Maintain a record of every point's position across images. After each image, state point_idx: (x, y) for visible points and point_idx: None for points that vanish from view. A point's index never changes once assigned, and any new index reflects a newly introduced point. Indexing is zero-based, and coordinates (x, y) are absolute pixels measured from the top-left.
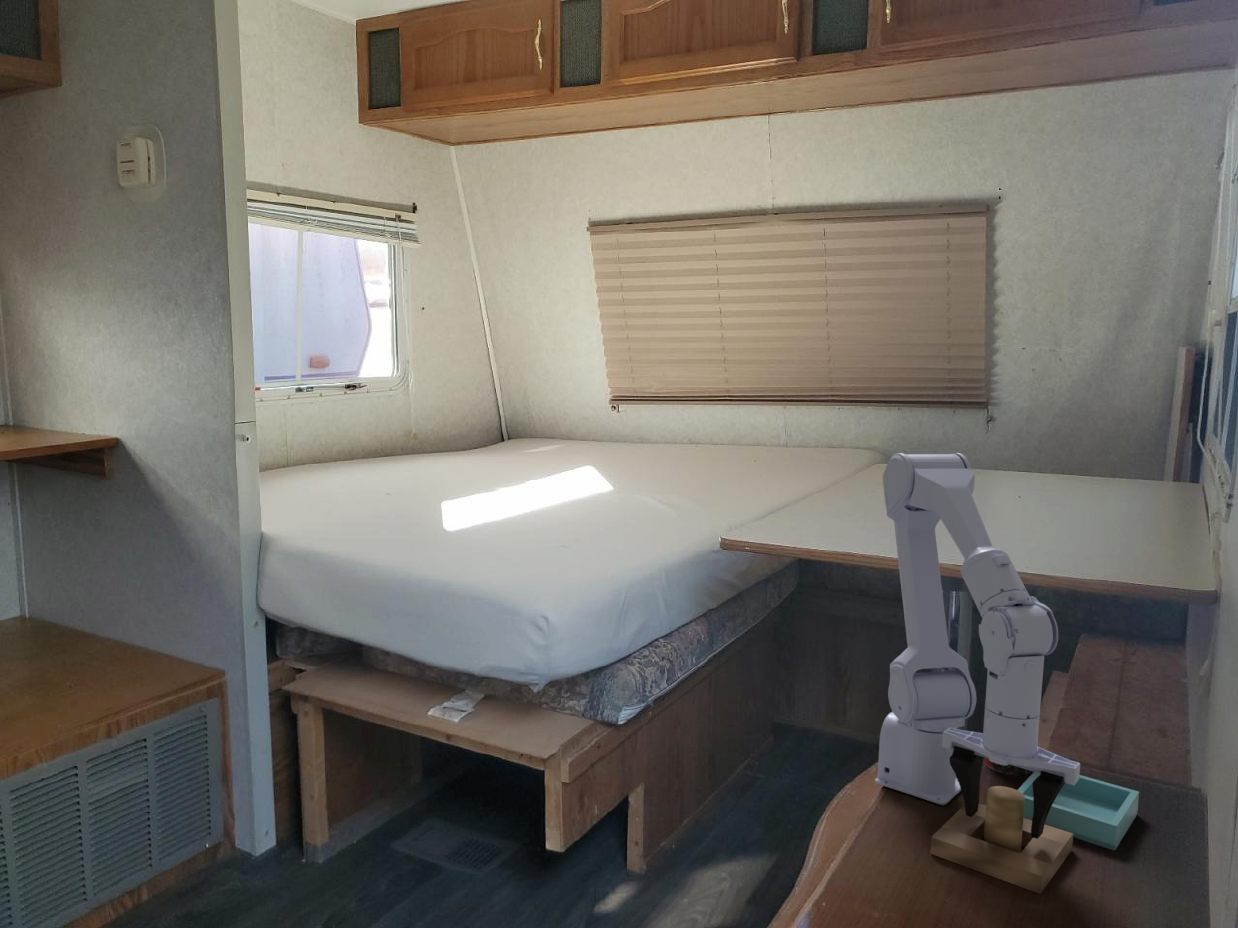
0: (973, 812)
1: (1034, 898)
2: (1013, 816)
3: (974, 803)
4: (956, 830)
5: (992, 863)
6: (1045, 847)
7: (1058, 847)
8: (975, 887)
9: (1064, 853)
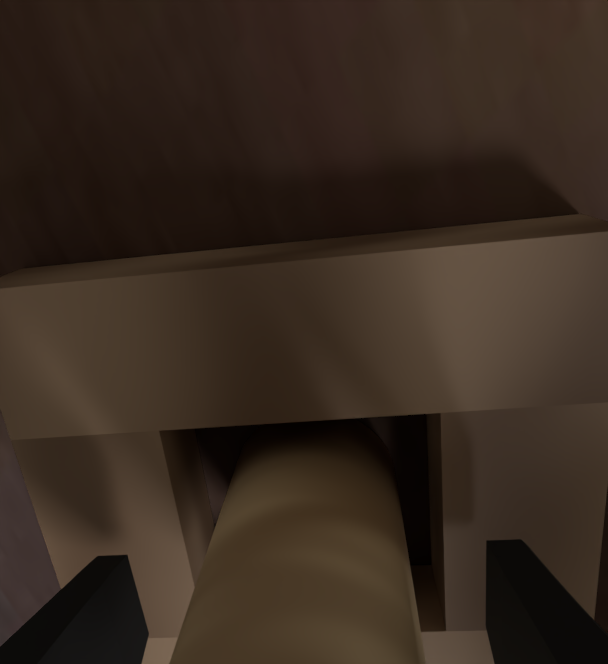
0: (490, 579)
1: (17, 209)
2: (195, 619)
3: (510, 641)
4: (525, 417)
5: (232, 260)
6: None
7: None
8: (248, 68)
9: None
